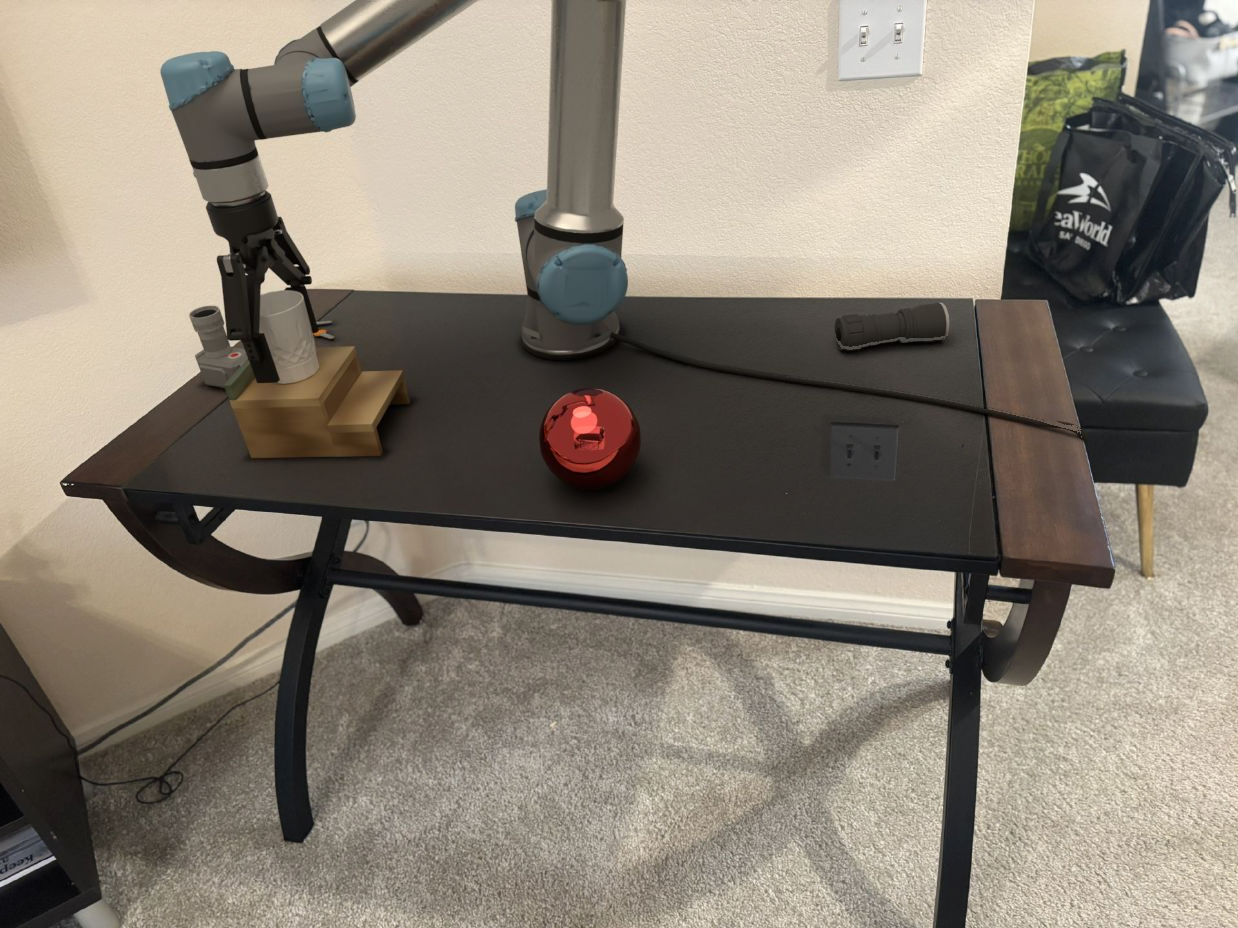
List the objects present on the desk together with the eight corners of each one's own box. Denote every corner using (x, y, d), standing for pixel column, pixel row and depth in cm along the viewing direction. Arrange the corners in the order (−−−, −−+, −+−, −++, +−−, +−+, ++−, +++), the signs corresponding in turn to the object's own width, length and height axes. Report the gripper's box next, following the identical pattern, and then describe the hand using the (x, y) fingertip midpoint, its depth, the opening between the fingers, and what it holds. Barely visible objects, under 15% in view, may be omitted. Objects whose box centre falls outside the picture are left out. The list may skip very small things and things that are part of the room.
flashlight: (841, 359, 129) (843, 325, 126) (830, 342, 134) (832, 308, 131) (947, 346, 130) (951, 312, 127) (933, 330, 134) (937, 296, 131)
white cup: (335, 360, 122) (315, 291, 117) (301, 389, 116) (278, 318, 111) (287, 355, 125) (265, 288, 119) (251, 384, 119) (226, 314, 113)
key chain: (259, 343, 150) (257, 339, 149) (277, 323, 155) (275, 319, 155) (332, 341, 148) (331, 337, 147) (348, 321, 154) (346, 317, 153)
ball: (659, 462, 112) (654, 377, 105) (617, 519, 104) (608, 430, 97) (574, 445, 117) (563, 363, 110) (527, 498, 108) (513, 412, 101)
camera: (208, 297, 137) (287, 308, 132) (232, 365, 144) (308, 378, 139) (165, 322, 131) (246, 334, 126) (192, 392, 138) (270, 407, 132)
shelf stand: (410, 400, 130) (393, 330, 124) (380, 456, 119) (359, 381, 112) (291, 403, 132) (268, 334, 126) (251, 458, 121) (223, 385, 114)
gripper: (251, 166, 118) (298, 314, 130) (154, 237, 97) (220, 405, 110) (306, 162, 117) (348, 312, 129) (219, 233, 97) (279, 404, 109)
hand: (289, 355), depth 119 cm, fingers open, 13 cm apart
